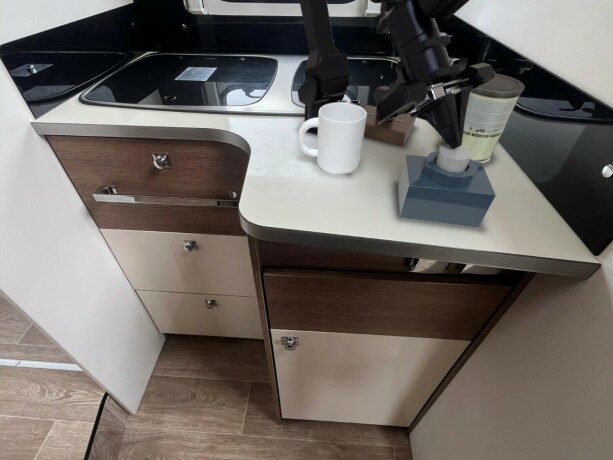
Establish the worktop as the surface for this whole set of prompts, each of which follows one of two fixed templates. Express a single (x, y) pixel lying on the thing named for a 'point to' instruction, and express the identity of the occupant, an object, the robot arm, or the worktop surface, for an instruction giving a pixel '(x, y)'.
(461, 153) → the push button
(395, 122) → the dial panel
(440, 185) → the button base
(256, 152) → the worktop surface
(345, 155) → the mug
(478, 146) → the coffee can
